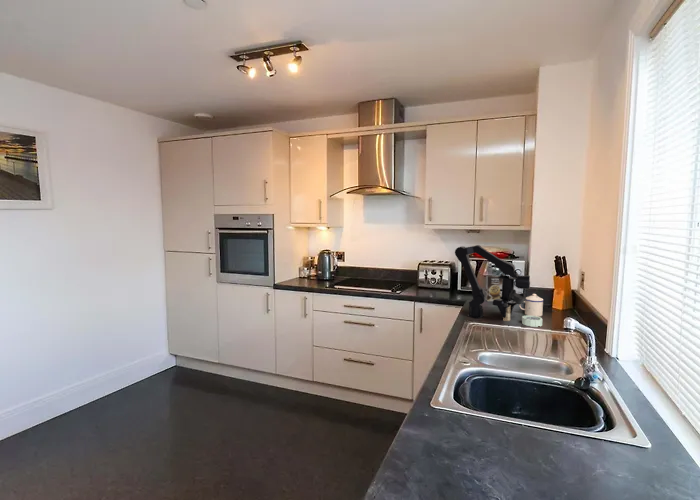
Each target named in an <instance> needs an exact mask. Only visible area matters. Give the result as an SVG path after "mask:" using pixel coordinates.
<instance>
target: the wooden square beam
mask: <svg viewBox="0 0 700 500" xmlns="http://www.w3.org/2000/svg"><path fill="white" fill-rule="evenodd" d="M508 306H509V307H508V308H507V311H506V317H505V318H503V317H502V318H503V319H502V320H503V321H504V322H510V321H511V316H510V311H511V305H508Z"/></svg>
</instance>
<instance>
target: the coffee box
mask: <svg viewBox="0 0 700 500" xmlns="http://www.w3.org/2000/svg"><path fill="white" fill-rule="evenodd" d="M485 276H486V277H485V292H486V293H487V295H486V300H485V302H492V303H493V301H494V300H495V299H500V297H501V296H502V291H500V289H502V279H499V278H498V277H499V276H500V275H488V274H487V275H485Z"/></svg>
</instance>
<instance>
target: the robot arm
mask: <svg viewBox="0 0 700 500" xmlns="http://www.w3.org/2000/svg"><path fill="white" fill-rule="evenodd" d="M454 254H455V256H456V258H457V259H458V261H459V263H460V264H462V265H461V266H462V268H463V271H464V272H465V275H466V277H467V279H468V280H467V281H468V282H469V284H470V287H471V294H472V299H471V300H470V301H469V302H468V304H469V305H468V314H467V315H466V316H467V317H469V318H474V319H481V318H483V317H485V315H484V308H483V305H482V304H483V303H485V302H486V295H487V293H486V288H485V287H481V285H480V284H479V281H478V278H477V276H476V274H475V271H474V269H473V266H472V264H471V261H470V255H471V254H477V255H479V256H480V257H482V258H483V259H484V260H487V261H488V262H489V263H491V264H493V265H494V266H495V267H497V269H498V270H499V271H500V272H501V274H500V275H498V276H499V277H498V278H499V279H502V289H500V291H502V296H501V297H500V299H495V300H494V301H493V302H492V306H497V308H498V309H499V312H500V315H501V316H502V318H505V317H506V311H507V308H508V307H509V306H508V305H511V311H510V317H511V316H512V312H513V310H514V309H515V308H514V307H515V306H517V305H519V304H521V305H522V304H524V303H525V302H524V301H526V297H527V296H526V294H525V293H524V292H521V293H517V290H516V289H515V287H516V288H517V289H522V290H530V288H531V279H530V275H519V273H518V272H517V271H516V267H515V264H513V263H512V262H509V261H507V260H504V259H502V258H499V256H498V257H497V256H496V255H494V254H493V253H492V252H490V251H488V250H487V249H485V248H484V247H482V246H481V245H480V244H477V245H472V246H463V245H462V246H459V247H457V248H456V249H455V250H454Z"/></svg>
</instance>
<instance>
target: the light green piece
mask: <svg viewBox="0 0 700 500" xmlns="http://www.w3.org/2000/svg"><path fill="white" fill-rule="evenodd" d="M521 323H522V325H524V326H527V327H532V328H539V327H538V326H540V327H542V326H543V317H541V316H540V317H537V316H530V315H522V316H521Z"/></svg>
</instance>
